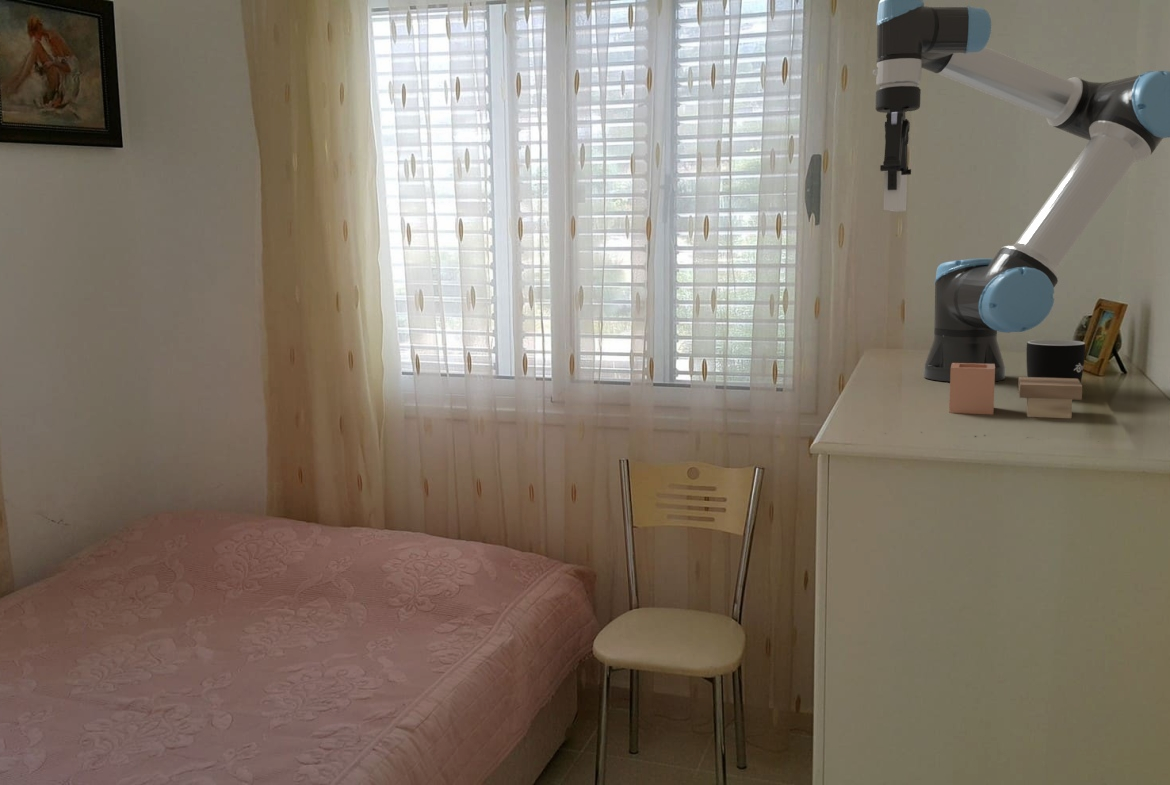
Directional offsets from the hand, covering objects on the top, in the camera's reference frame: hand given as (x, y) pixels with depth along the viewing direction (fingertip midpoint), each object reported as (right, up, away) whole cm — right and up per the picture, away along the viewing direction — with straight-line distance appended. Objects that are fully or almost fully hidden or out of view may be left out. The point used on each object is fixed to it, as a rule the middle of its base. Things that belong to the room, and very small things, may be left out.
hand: (895, 210), depth 181 cm
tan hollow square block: (+6, -36, -20) cm, 42 cm away
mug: (+25, -34, -8) cm, 43 cm away
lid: (+16, -33, -26) cm, 44 cm away
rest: (+16, -37, -25) cm, 47 cm away
